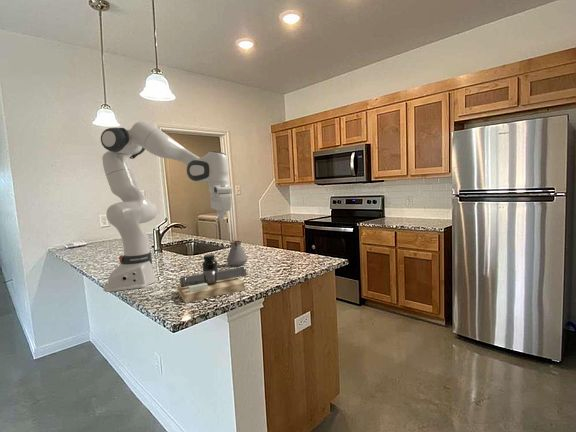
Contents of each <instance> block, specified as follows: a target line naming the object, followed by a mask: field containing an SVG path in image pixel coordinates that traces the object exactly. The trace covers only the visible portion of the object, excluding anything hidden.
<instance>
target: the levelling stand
mask: <svg viewBox="0 0 576 432" xmlns="http://www.w3.org/2000/svg"><path fill="white" fill-rule="evenodd" d="M245 290H246V289H245V282H244V281H242V280H241V279H239V277H235V278H230V279H224V280H219V281H216V283H215V284H212V285H208V284H207V283H202V284H197V285H191V286H186V287H181V284H179V283H178V284H177V292H178V294H179V295H180V298H181V299H182V300H183V302H184V303H190V302H194V301H199V300H203V299H209V298H212V297H218V296H223V295H227V294H232V293H237V292H242V291H245Z"/></svg>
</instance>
